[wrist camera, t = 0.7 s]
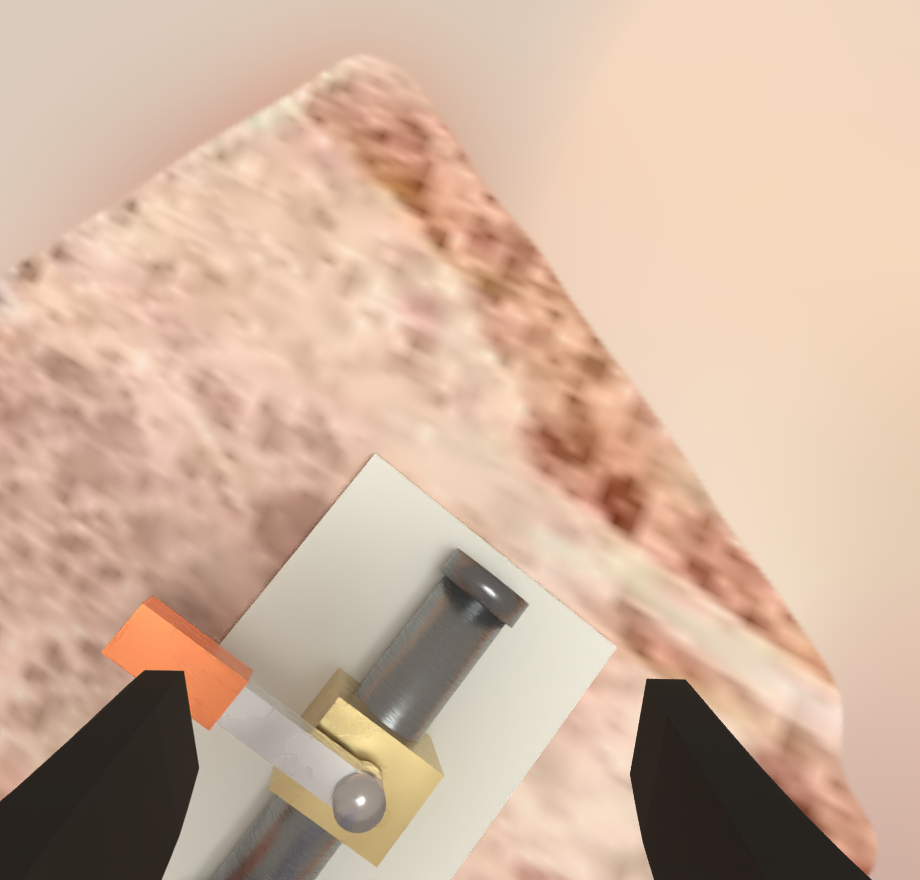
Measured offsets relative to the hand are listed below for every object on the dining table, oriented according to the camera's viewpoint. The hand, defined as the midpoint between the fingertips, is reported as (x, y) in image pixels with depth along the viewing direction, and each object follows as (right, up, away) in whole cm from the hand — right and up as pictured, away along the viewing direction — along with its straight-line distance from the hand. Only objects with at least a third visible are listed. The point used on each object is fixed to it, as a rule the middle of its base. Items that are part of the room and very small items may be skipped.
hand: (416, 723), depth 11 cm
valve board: (-4, -8, +20) cm, 22 cm away
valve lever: (-6, -5, +14) cm, 16 cm away
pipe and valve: (-4, -8, +20) cm, 22 cm away
